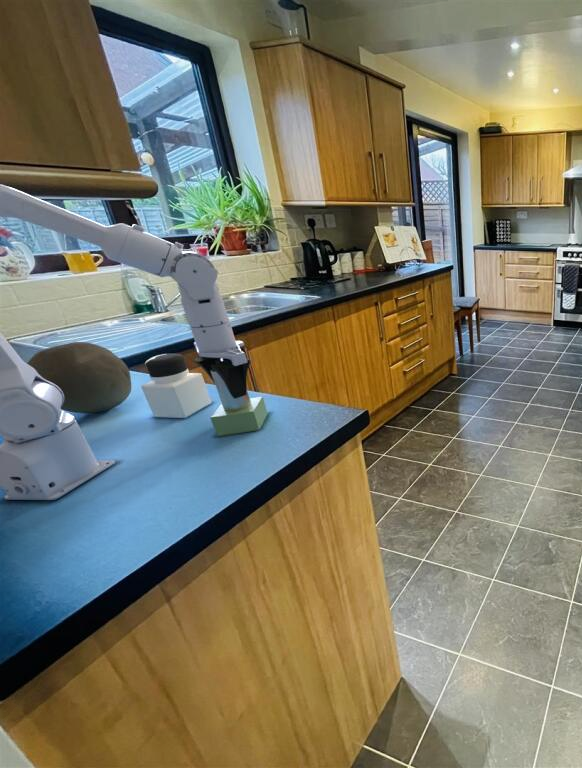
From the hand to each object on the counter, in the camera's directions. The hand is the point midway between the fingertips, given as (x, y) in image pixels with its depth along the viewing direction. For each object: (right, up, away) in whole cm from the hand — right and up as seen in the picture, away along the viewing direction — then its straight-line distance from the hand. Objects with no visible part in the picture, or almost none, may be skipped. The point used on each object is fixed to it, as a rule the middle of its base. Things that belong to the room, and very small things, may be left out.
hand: (233, 393), depth 75 cm
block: (0, -6, +3) cm, 7 cm away
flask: (0, -2, +1) cm, 3 cm away
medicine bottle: (-17, -4, +9) cm, 19 cm away
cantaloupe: (-35, -4, +9) cm, 36 cm away
